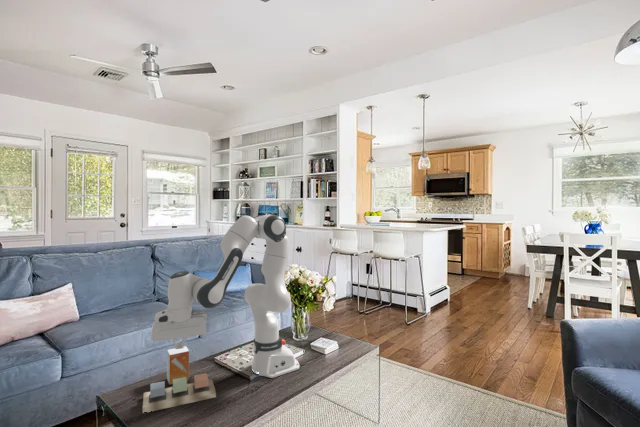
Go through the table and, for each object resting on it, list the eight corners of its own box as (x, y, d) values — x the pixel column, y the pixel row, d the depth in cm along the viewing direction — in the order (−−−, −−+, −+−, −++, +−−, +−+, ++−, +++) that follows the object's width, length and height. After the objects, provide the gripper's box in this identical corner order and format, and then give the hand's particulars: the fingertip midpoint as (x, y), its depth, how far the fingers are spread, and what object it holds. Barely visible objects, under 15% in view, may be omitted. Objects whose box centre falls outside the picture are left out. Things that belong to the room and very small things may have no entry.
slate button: (164, 388, 137) (164, 381, 137) (164, 395, 132) (164, 387, 132) (150, 391, 135) (150, 383, 135) (150, 398, 130) (150, 390, 130)
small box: (169, 385, 146) (169, 355, 145) (166, 378, 151) (166, 349, 151) (189, 380, 150) (189, 350, 150) (186, 373, 156) (186, 345, 155)
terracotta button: (206, 380, 144) (206, 372, 144) (208, 385, 139) (208, 378, 139) (194, 382, 142) (194, 375, 141) (195, 388, 137) (195, 381, 137)
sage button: (186, 384, 140) (186, 376, 140) (187, 390, 136) (187, 382, 136) (172, 386, 138) (172, 379, 138) (173, 393, 134) (173, 385, 134)
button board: (211, 383, 148) (212, 378, 148) (215, 397, 138) (215, 391, 138) (143, 397, 137) (143, 392, 136) (142, 413, 127) (142, 407, 127)
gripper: (206, 308, 143) (205, 341, 143) (151, 314, 134) (151, 349, 135) (208, 312, 137) (207, 347, 138) (151, 319, 129) (150, 355, 129)
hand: (179, 348), depth 136 cm, fingers closed
